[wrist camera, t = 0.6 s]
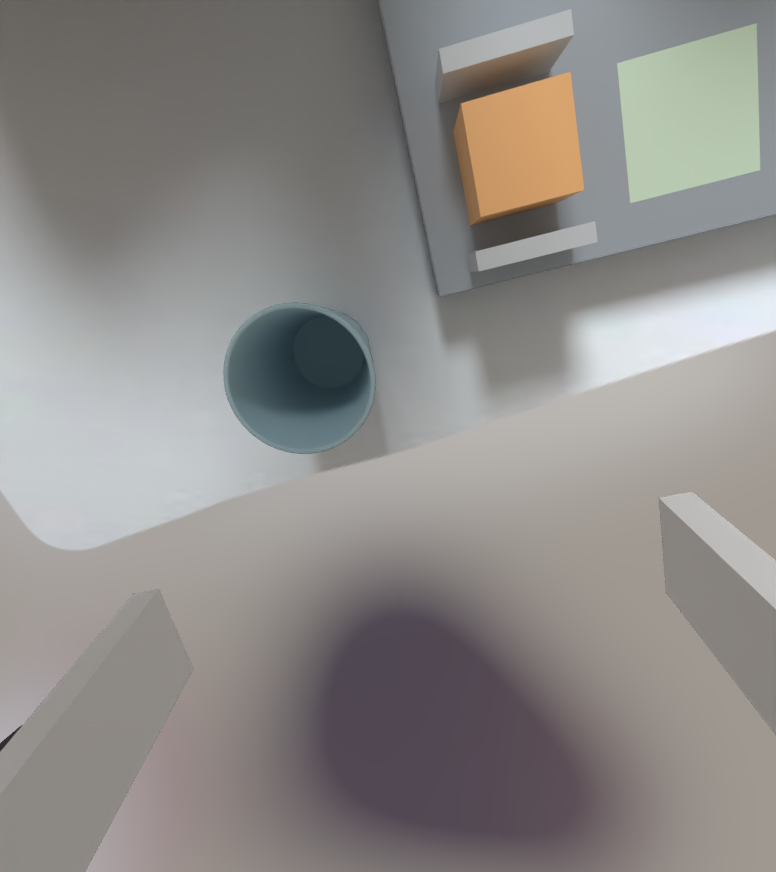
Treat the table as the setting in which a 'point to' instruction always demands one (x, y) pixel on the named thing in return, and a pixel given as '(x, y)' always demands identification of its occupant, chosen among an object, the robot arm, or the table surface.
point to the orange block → (519, 149)
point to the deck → (592, 121)
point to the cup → (300, 377)
